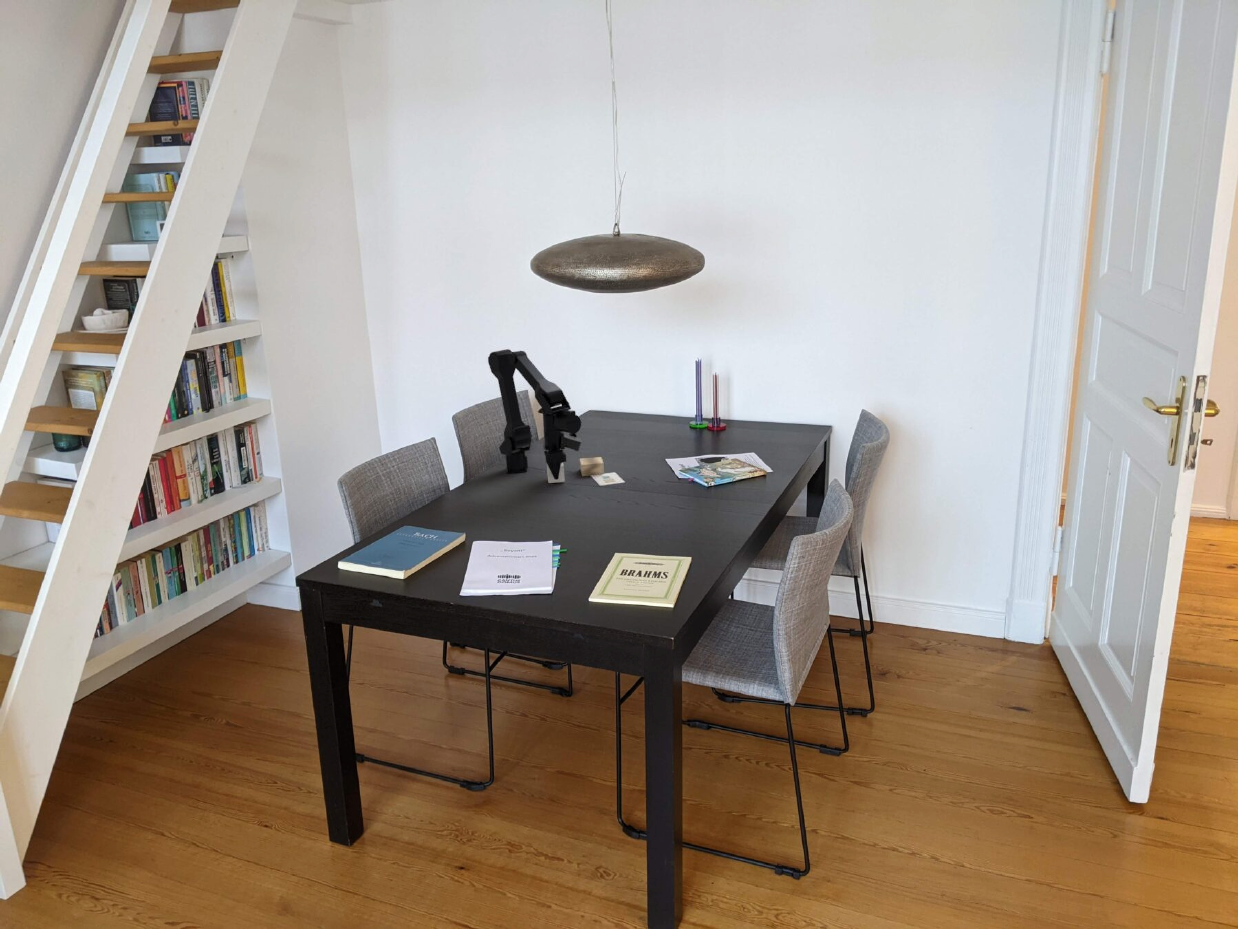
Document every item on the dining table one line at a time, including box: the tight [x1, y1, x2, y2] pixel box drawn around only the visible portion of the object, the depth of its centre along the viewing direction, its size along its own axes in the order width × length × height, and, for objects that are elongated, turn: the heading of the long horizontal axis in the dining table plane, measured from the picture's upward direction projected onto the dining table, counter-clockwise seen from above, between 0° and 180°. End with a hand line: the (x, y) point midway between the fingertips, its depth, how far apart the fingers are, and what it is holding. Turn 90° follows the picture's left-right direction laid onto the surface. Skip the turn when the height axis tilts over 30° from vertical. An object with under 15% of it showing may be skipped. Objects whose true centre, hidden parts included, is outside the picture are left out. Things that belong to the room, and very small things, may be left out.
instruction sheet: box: [590, 472, 626, 487], centre depth 296 cm, size 8×11×1 cm
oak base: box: [579, 456, 605, 477], centre depth 304 cm, size 7×7×4 cm
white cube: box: [546, 462, 566, 484], centre depth 295 cm, size 5×5×5 cm
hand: (555, 476), depth 296 cm, fingers closed on white cube, 5 cm apart
